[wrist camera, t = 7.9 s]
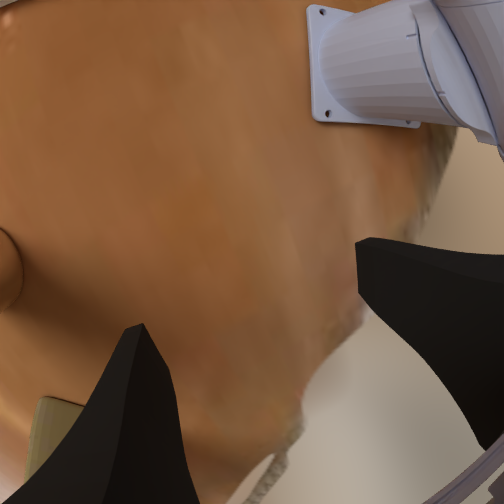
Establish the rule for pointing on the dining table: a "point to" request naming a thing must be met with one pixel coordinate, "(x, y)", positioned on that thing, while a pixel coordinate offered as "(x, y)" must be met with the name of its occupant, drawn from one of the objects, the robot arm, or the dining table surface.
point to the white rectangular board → (6, 2)
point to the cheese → (48, 430)
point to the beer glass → (9, 272)
